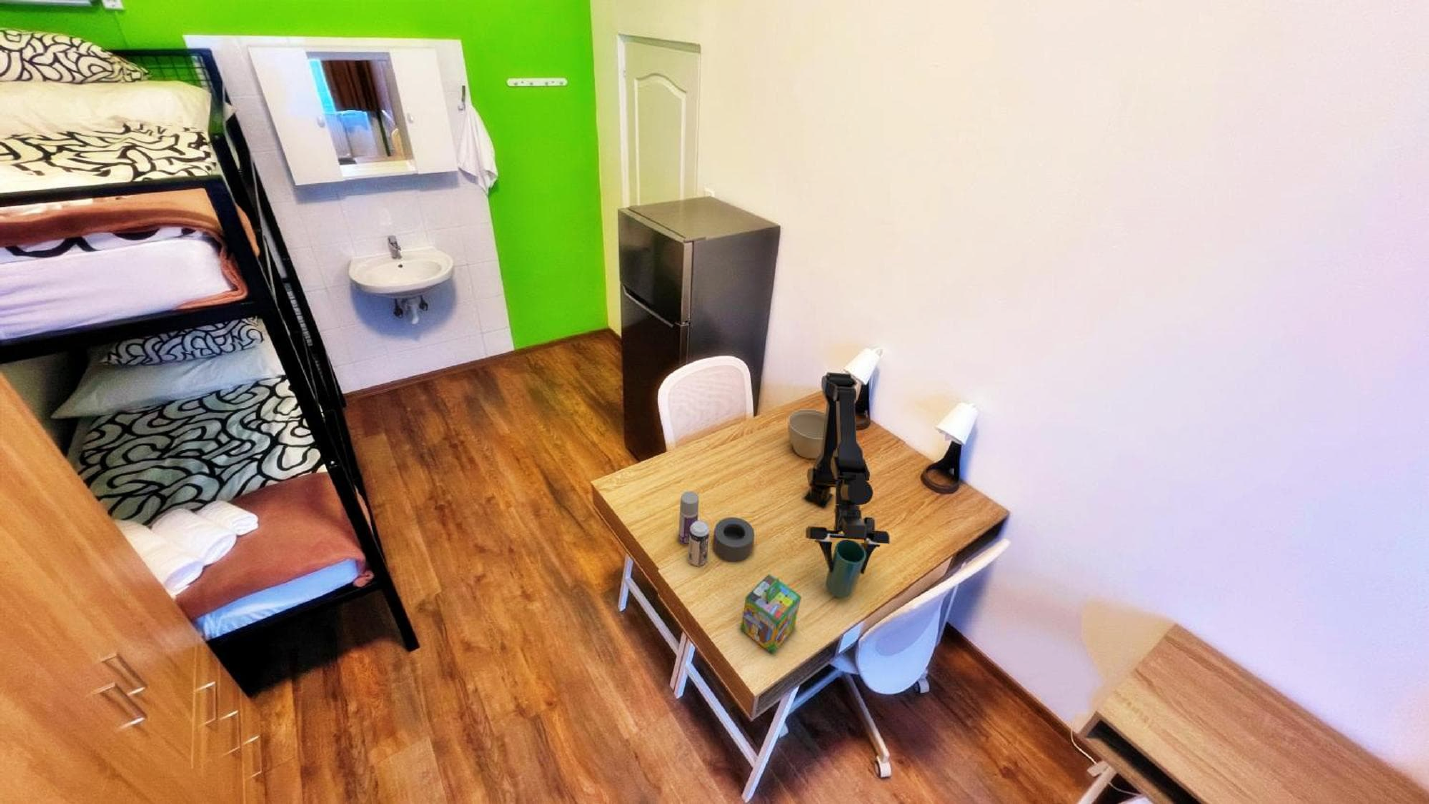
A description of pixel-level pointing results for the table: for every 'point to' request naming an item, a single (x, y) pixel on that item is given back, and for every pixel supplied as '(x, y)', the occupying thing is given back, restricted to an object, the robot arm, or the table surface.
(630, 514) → the table surface
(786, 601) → the chalk box
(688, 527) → the container
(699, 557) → the grey capped bottle
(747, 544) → the grey pot
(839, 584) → the green cup
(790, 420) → the planter bowl
